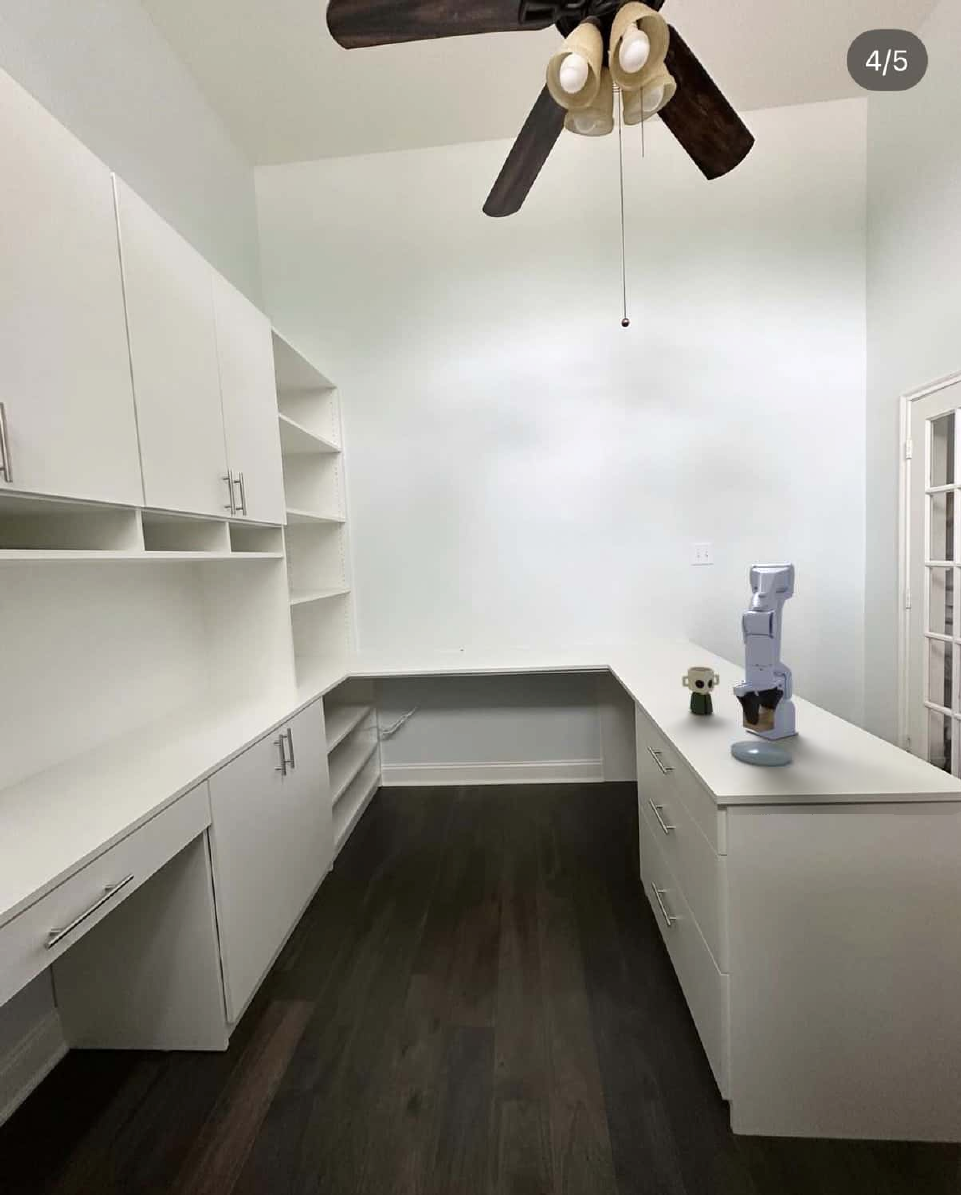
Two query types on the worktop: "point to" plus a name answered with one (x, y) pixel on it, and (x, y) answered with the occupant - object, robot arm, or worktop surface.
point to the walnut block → (761, 720)
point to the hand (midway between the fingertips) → (759, 721)
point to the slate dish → (761, 753)
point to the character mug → (700, 688)
